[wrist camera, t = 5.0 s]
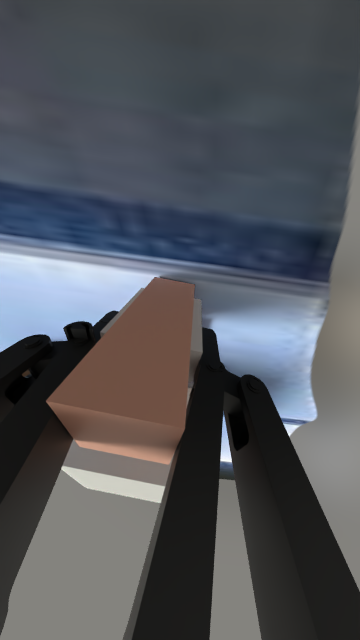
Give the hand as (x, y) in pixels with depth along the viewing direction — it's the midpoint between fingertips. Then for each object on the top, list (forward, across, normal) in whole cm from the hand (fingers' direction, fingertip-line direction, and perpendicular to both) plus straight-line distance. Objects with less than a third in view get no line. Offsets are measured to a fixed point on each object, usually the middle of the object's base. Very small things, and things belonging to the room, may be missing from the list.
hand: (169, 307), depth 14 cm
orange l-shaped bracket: (+2, 0, -8) cm, 8 cm away
